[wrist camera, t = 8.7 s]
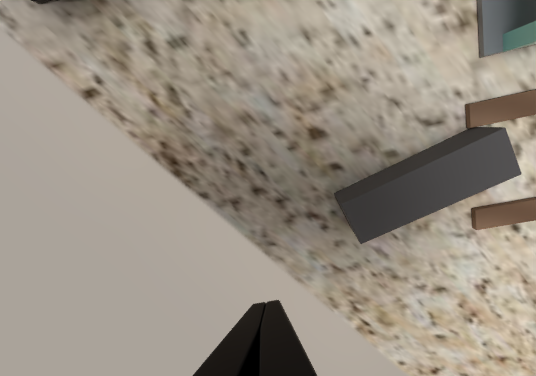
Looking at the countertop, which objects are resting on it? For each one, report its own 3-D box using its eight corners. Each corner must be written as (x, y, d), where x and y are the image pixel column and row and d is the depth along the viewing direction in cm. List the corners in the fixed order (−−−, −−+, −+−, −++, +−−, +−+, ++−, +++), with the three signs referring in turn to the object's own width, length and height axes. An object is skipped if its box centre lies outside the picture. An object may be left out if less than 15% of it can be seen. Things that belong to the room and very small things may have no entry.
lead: (333, 192, 20) (341, 204, 17) (470, 126, 18) (505, 127, 15) (350, 226, 20) (360, 244, 17) (485, 166, 19) (521, 174, 16)
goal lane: (465, 104, 18) (469, 104, 17) (603, 74, 17) (611, 73, 16) (472, 227, 19) (476, 229, 19) (597, 207, 18) (603, 208, 18)
